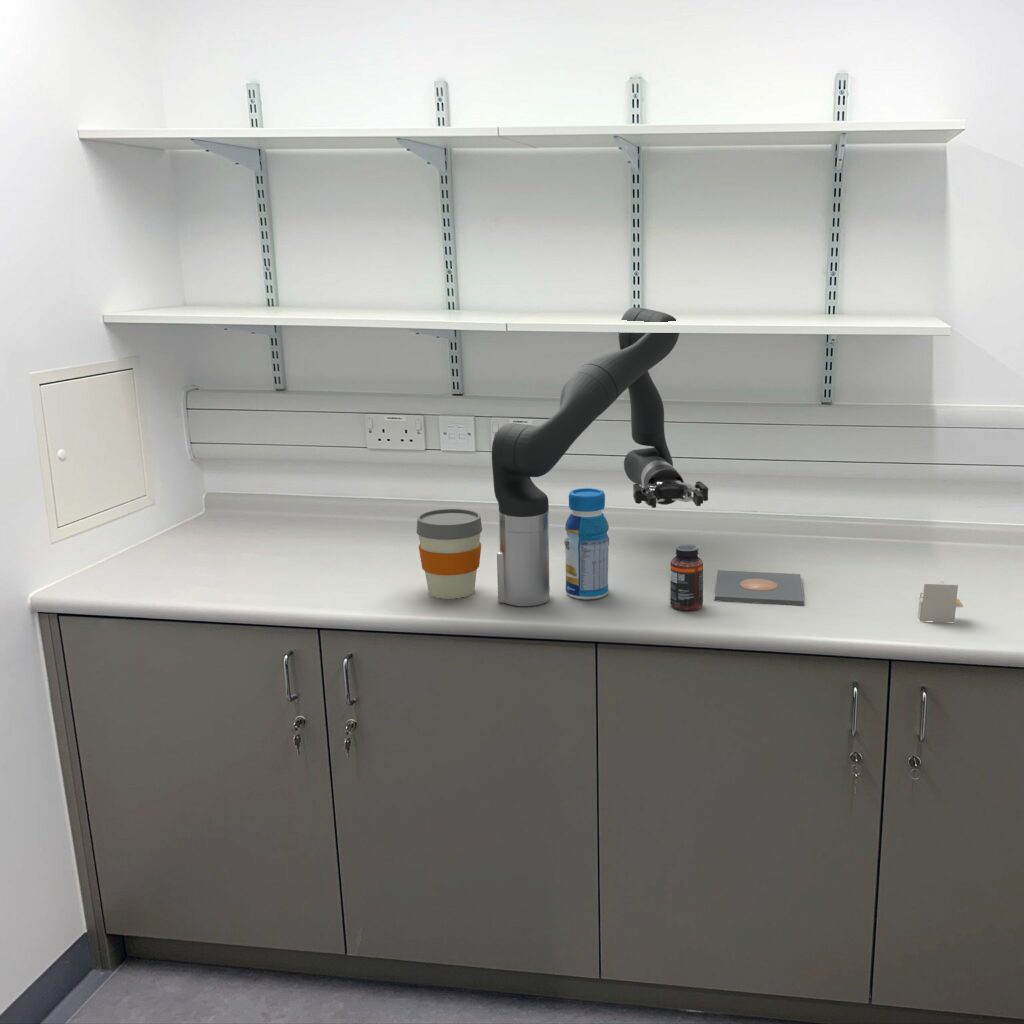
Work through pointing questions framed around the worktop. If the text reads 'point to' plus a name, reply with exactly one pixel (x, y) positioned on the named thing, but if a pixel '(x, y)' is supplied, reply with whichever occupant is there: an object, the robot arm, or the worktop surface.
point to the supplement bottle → (686, 579)
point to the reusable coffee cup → (450, 551)
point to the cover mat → (759, 587)
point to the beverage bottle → (586, 545)
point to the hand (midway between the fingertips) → (676, 501)
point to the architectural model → (938, 603)
